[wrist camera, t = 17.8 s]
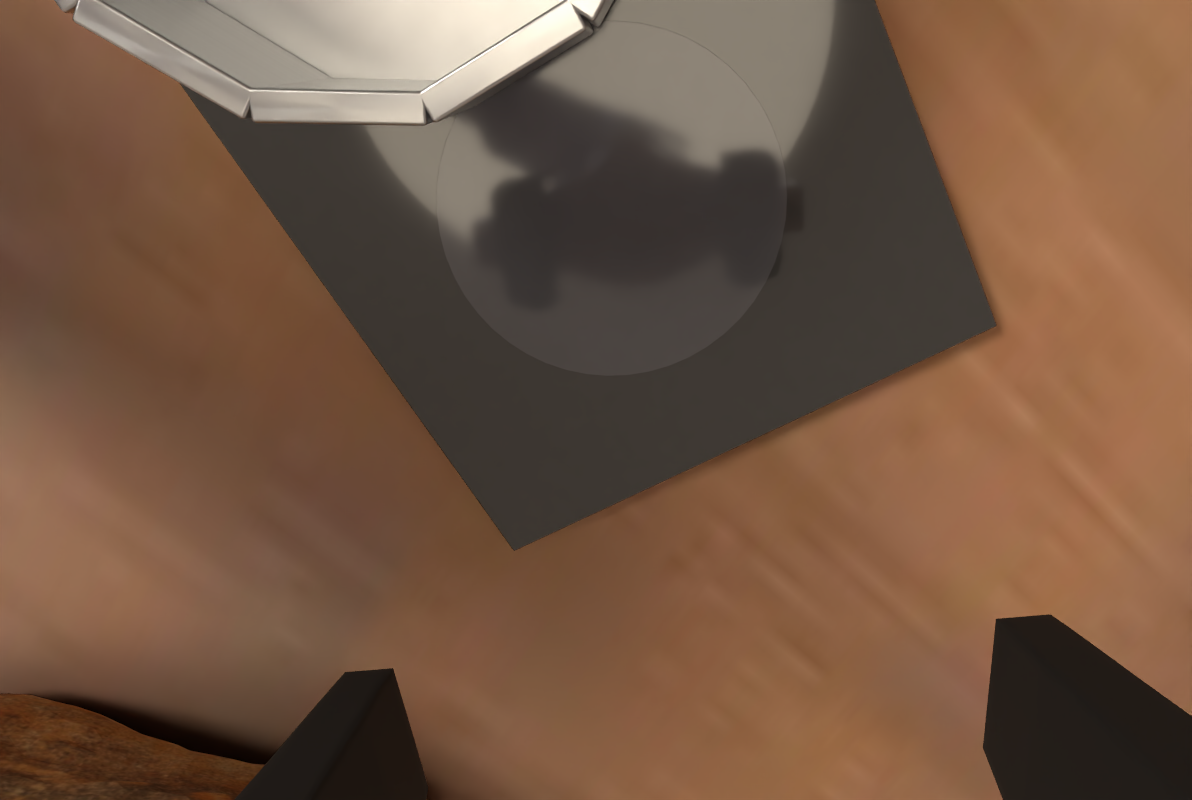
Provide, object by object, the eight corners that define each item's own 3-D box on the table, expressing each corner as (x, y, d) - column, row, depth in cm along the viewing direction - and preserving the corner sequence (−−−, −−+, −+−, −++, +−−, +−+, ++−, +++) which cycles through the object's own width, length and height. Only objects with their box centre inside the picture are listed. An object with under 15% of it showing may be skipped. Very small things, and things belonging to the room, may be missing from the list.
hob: (991, 322, 18) (998, 326, 18) (515, 545, 21) (513, 551, 21) (517, -936, 11) (515, -961, 11) (-113, -337, 14) (-129, -346, 14)
